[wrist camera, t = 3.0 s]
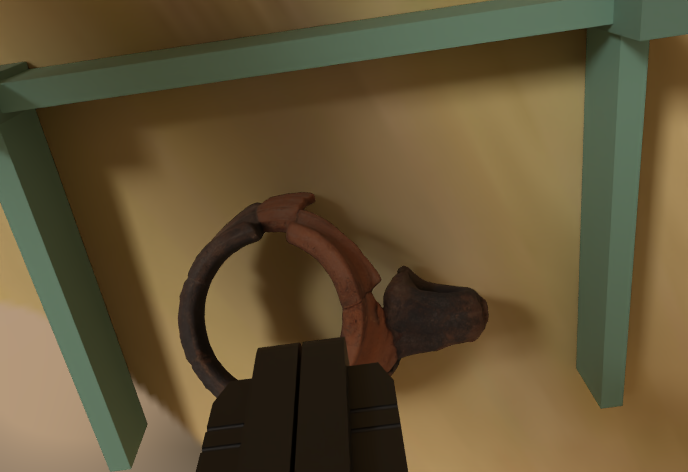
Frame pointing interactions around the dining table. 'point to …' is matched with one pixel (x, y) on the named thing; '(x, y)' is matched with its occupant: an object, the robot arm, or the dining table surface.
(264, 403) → the robot arm
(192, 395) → the dining table surface
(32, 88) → the teal bars
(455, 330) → the pottery mug
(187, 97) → the dining table surface
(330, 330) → the dining table surface
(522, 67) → the dining table surface
